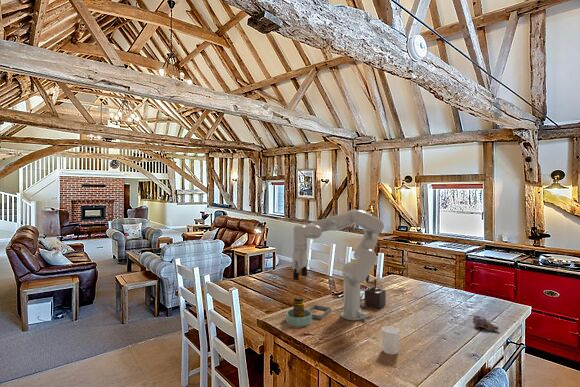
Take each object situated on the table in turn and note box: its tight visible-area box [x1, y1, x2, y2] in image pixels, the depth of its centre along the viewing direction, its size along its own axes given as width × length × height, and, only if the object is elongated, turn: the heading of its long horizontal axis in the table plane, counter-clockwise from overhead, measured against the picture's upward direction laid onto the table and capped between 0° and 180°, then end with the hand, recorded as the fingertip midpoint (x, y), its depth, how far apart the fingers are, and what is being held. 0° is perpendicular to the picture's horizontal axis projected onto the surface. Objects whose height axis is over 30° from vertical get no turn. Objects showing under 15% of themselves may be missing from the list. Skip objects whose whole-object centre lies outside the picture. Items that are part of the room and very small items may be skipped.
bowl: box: [285, 308, 313, 327], centre depth 181 cm, size 14×14×4 cm
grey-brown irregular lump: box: [472, 314, 499, 332], centre depth 173 cm, size 12×8×6 cm, turn 41°
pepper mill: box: [363, 274, 387, 309], centre depth 210 cm, size 16×11×18 cm
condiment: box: [292, 296, 305, 318], centre depth 181 cm, size 7×8×12 cm
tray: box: [306, 304, 332, 321], centre depth 193 cm, size 11×15×2 cm
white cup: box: [381, 325, 400, 355], centre depth 148 cm, size 8×8×10 cm
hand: (300, 277), depth 181 cm, fingers open, 9 cm apart
